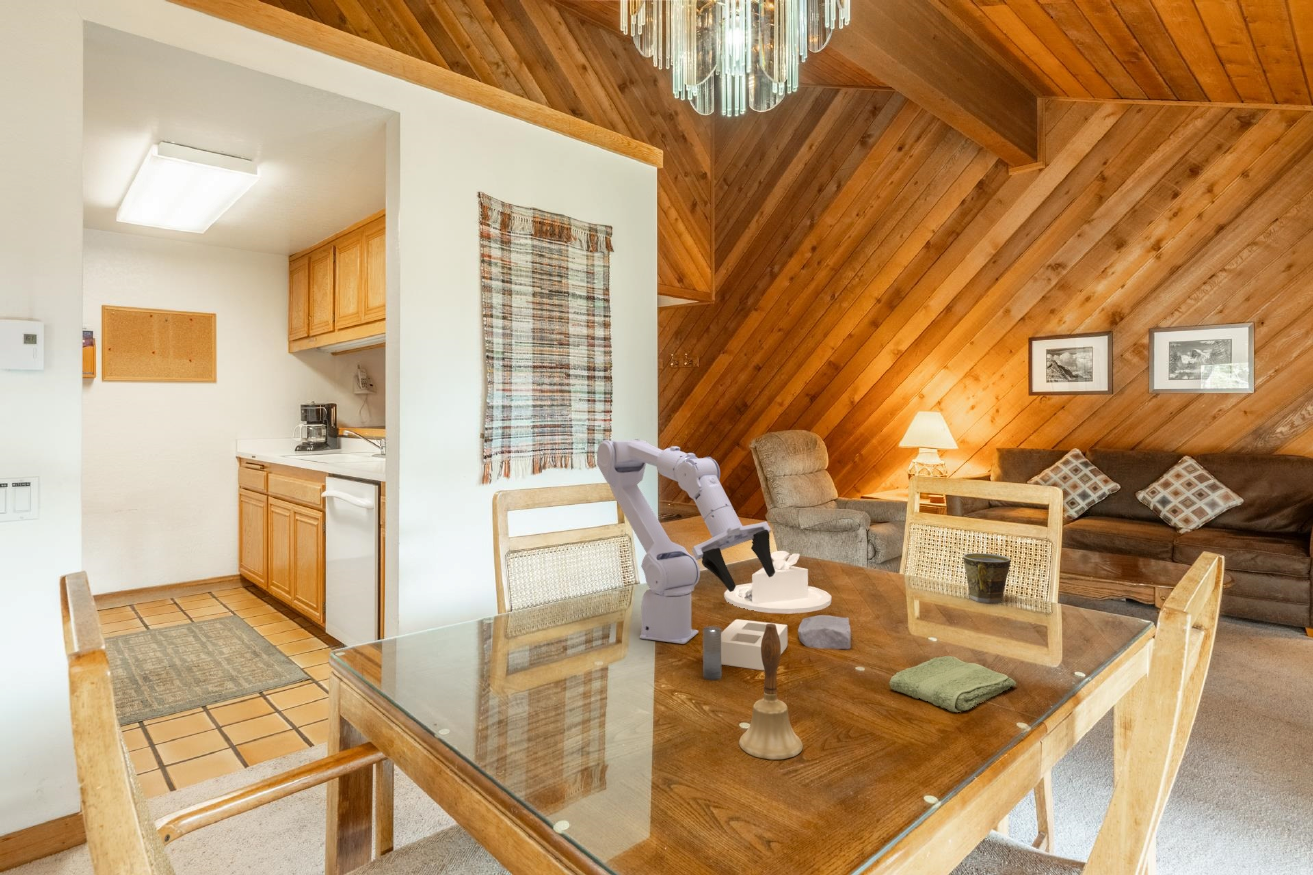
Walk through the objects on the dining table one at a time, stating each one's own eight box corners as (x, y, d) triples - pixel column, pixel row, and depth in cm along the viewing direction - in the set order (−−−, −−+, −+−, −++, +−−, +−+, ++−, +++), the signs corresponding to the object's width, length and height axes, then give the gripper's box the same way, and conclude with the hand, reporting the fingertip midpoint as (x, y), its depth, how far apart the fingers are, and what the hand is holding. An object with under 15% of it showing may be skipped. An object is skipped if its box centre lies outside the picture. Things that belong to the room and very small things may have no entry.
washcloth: (1020, 690, 112) (1020, 670, 112) (960, 719, 101) (960, 697, 101) (943, 666, 122) (944, 648, 122) (882, 691, 112) (882, 671, 112)
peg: (700, 678, 116) (700, 630, 116) (706, 672, 119) (706, 625, 119) (718, 680, 115) (717, 632, 115) (723, 674, 118) (723, 627, 118)
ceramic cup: (968, 592, 171) (968, 551, 171) (1013, 598, 165) (1014, 556, 165) (955, 604, 161) (955, 560, 160) (1003, 611, 155) (1003, 565, 155)
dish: (768, 582, 184) (768, 539, 184) (852, 600, 166) (852, 553, 165) (703, 599, 167) (703, 552, 167) (788, 621, 149) (788, 568, 149)
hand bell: (733, 732, 97) (733, 617, 96) (792, 729, 97) (792, 615, 97) (746, 761, 88) (746, 636, 88) (810, 758, 89) (811, 634, 88)
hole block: (712, 662, 123) (712, 640, 123) (736, 639, 136) (736, 618, 136) (768, 670, 119) (768, 647, 119) (787, 645, 132) (787, 624, 132)
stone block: (801, 657, 132) (855, 650, 130) (796, 632, 132) (850, 624, 130) (801, 640, 143) (851, 633, 141) (797, 616, 143) (846, 609, 141)
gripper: (685, 516, 121) (719, 586, 115) (759, 492, 125) (795, 558, 119) (680, 534, 127) (711, 602, 120) (750, 510, 131) (784, 575, 125)
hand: (752, 581), depth 120 cm, fingers open, 7 cm apart
